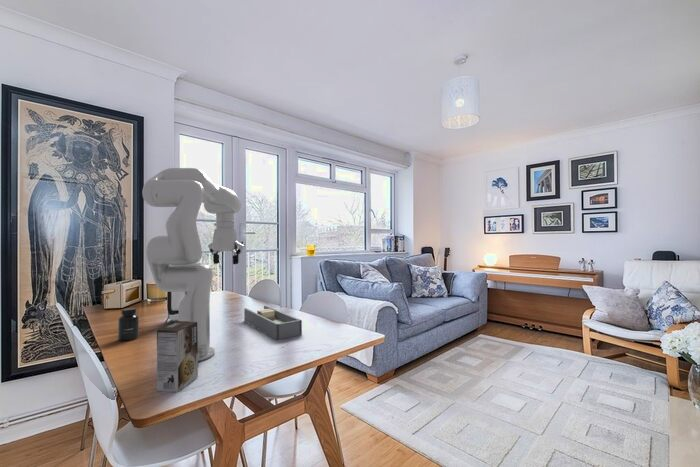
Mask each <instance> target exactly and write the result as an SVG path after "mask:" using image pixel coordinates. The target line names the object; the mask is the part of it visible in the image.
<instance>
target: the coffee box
mask: <svg viewBox="0 0 700 467" xmlns="http://www.w3.org/2000/svg"><path fill="white" fill-rule="evenodd" d="M198 377H199V361H198V331H197V322H189V321H174V322H173V323H171V324H170V323H169V324H167V325H165V326H163V327H160V328H158V329H157V330H156V391H157V392H173V393H175V392H176V393H179V392H180V391H182V390H183V389H184V388H185V387H187V386H189V385H190V384H191V383H192V382H193V381H194V380H196V379H198Z"/></svg>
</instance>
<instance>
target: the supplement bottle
mask: <svg viewBox="0 0 700 467" xmlns="http://www.w3.org/2000/svg"><path fill="white" fill-rule="evenodd" d="M117 322H118V323H117V324H118V326H117V327H118V328H117V340H118V341H119V342H129V341H135V340H136V339H138V338H139V332H140V331H139V330H140V329H139V325H140V324H139V323H140V317H139V315H138V314H137V308H135V307H130V308H129V307H128V308H123V309H121V316H119V317H118V320H117Z"/></svg>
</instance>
